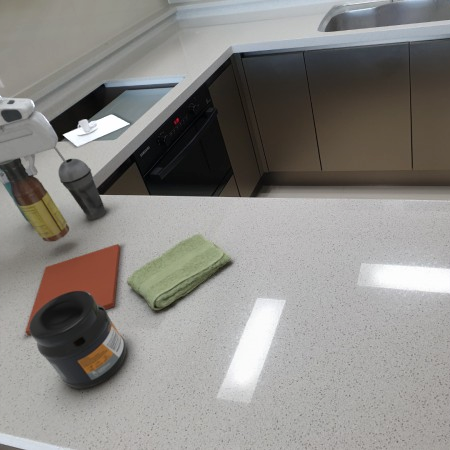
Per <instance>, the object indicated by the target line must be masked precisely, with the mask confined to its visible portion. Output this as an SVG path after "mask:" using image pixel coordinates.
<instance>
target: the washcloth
mask: <svg viewBox="0 0 450 450" xmlns="http://www.w3.org/2000/svg"><path fill="white" fill-rule="evenodd" d="M231 260H232V258H231V256H230V255H229V254H228V253H227V252H225V251H224V250H223V249H222V248H221V247H219V245H217V244H215V243H213V241H211V240H209V239H207V238H205V236H203V234H202V233H199V234H194V235H192V236H189V237H188V238H185V239H183V240H181V241H180V242H178V243H177V244H175V245H174V246H172V247H171V248H169V249H168V250H166V251H165V252H163V253H162V254H161V255H159V256H158V257H156V258H154V259H152V260H151V261H149V262H146V263H145V264H144V265H143V266H141V267H139V268H138V269H136V270H134V271H133V272H132V274H131V275H129V277H128V278H127V280H126V284H127V286H128V287H130V288H131V289H132V290H133V291H135V293H137V295H140V296H142V297H143V298H144V301H146V303H147V304H148V306H149V307H150V309H151V310H154V311H160V310H163V309H165V308H167V307H168V306H169V305H171V304H172V303H174V302H175V301H177V300H178V299H180V298H181V297H185V296H186V295H188V294H189V293H190V292H192V291H193V290H194V289H195V288H197V287H198V286H199V285H200V284H203V282H205V281H206V280H207V279H209V278H210V277H211V276H212V275H213V274H215V273H216V272H217V271H218V270H220V268H223V267H224V266H225V265H227V263H229V262H230V261H231Z"/></svg>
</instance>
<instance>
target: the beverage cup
mask: <svg viewBox="0 0 450 450" xmlns="http://www.w3.org/2000/svg"><path fill="white" fill-rule="evenodd" d="M53 150H55V152H56V153H57V154H58V156H59V157H60V159H61V160H62V162H61V164H60V166H59V167H58V178H59V181H60V183H61V184H62V185H63V187H65V189H66V190H67V191H68V192H69V193H70V195H71V196H72V198H73V199H74V201H75V202H76V204H77V205H78V207H79V208H80V209H81V210H82V212H83V213H84V215H85V216H86V217H87V218H88V220H92V221H93V220H97V219H99V218H101V217H103V216H104V215H105V214H106V212H107V210H106V208H105V205H104V202H103V200H102V197H101V196H100V193H99V190H98V188H97V186H96V183H95V181H94V176H93V173H92V169H91V168H90V167H89V166H88V164H87V163H85V162H84V161H83V160H81V159H79V158H68V159H65V158H64V156H63V155H62V154H61V152H60V151H59V149H58V148H57V145H56V146H55V148H54V149H53Z"/></svg>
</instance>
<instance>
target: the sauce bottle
mask: <svg viewBox="0 0 450 450" xmlns="http://www.w3.org/2000/svg"><path fill="white" fill-rule="evenodd" d="M0 169H1V170H3V171H4V173H5V174H6V176H7V177H8V180H9V181H10V184H11V190H12V194H13V196H14V199H15V201H16V202H17V204H18V205H19V207H20V208H21V210H22V211H23V213H24V214H25V216H26V217H27V219H28V220H29V221H30V223H29V224H31V226H32V227H33V229H34V231H36V233H37V235H38V236H39V237H40V238H41V239H42V240H43V241H44V242H47V243H53V242H56V241H58V240H60V239H63V238H64V237H66V235H68V233H69V232H70V226H69V225H68V224H67V221H66V219H65V217H64V215H63V214H62V212H61V211H60V209H59V207H58V206H57V205H56V203H55V201H54V200H53V198H52V196H51V194H50V193H49V192H48V190H47V189H46V188H45V187H44V185H43V183H42V182H41V181H40V179H39V178H37V177H36V176H35V175H34V176H31V177H29V176H28V173H26V171H25V169H26V167H25V166H24V164H23V163H22V158H18V159H14V160H10V161H7V162H3V163H0Z"/></svg>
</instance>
